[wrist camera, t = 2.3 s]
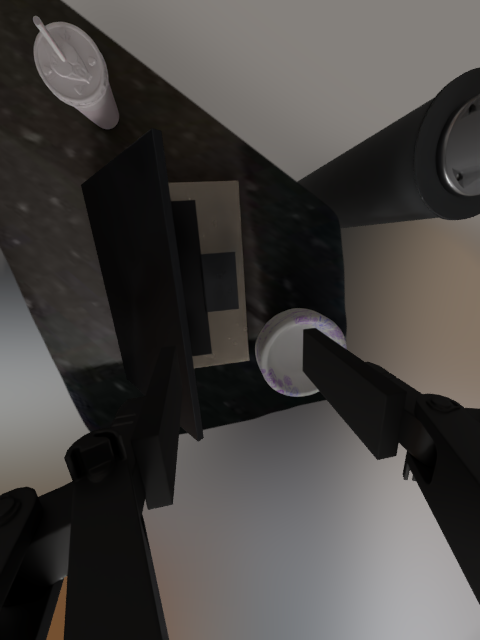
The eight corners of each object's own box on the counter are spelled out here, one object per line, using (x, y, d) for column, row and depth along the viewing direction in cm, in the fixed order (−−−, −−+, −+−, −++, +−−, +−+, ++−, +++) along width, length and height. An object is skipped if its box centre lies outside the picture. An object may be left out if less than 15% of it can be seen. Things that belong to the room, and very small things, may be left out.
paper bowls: (241, 368, 48) (250, 391, 41) (265, 294, 45) (279, 305, 37) (309, 381, 52) (328, 404, 44) (336, 314, 48) (362, 326, 41)
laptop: (236, 183, 38) (238, 180, 37) (247, 356, 48) (249, 360, 46) (93, 188, 35) (87, 185, 34) (134, 371, 45) (131, 377, 43)
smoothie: (90, 71, 32) (16, -53, 18) (138, 107, 34) (100, 19, 20) (69, 118, 33) (-15, 33, 19) (116, 151, 35) (68, 94, 21)
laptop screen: (162, 130, 19) (151, 127, 19) (204, 437, 28) (198, 441, 28) (88, 185, 34) (80, 184, 33) (131, 376, 43) (126, 379, 42)
